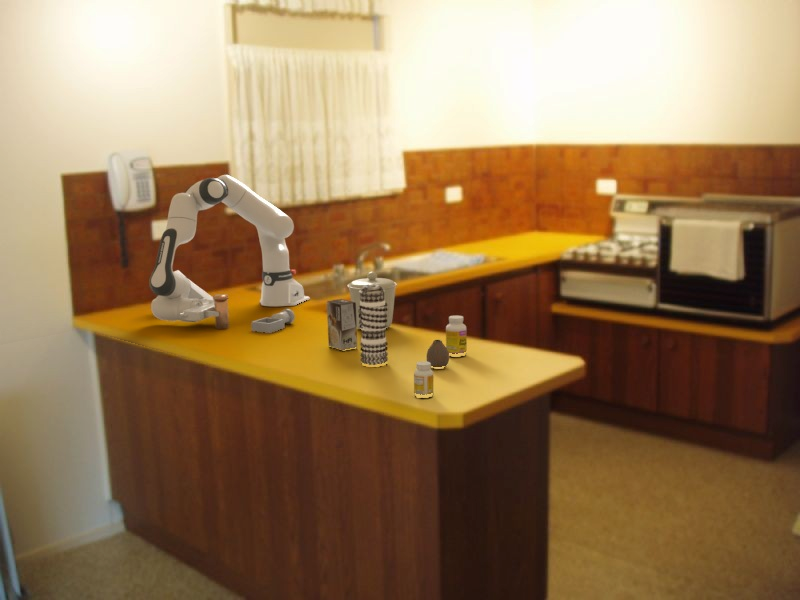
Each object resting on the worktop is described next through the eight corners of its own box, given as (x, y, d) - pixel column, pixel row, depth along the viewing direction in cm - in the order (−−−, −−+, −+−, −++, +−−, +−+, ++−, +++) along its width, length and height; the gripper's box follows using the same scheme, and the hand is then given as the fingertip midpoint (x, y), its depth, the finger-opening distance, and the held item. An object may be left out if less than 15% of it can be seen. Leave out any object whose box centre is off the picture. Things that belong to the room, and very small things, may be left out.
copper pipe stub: (221, 325, 355) (219, 293, 353) (233, 326, 352) (231, 295, 350) (211, 328, 350) (209, 296, 348) (222, 329, 348) (221, 297, 345)
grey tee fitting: (280, 322, 359) (279, 307, 358) (298, 324, 355) (297, 309, 353) (251, 331, 345) (250, 316, 344) (270, 333, 340) (269, 318, 339)
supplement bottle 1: (416, 400, 256) (415, 366, 255) (412, 394, 262) (411, 361, 260) (435, 398, 257) (435, 364, 255) (431, 393, 262) (430, 360, 261)
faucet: (210, 301, 377) (172, 270, 378) (188, 331, 382) (150, 300, 382) (216, 298, 383) (178, 268, 384) (194, 328, 388) (157, 297, 388)
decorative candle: (391, 366, 291) (389, 287, 286) (362, 369, 289) (360, 289, 284) (386, 359, 300) (384, 282, 295) (357, 361, 298) (355, 284, 293)
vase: (425, 365, 292) (425, 338, 290) (447, 364, 292) (447, 337, 290) (428, 371, 285) (427, 343, 283) (450, 370, 285) (450, 342, 284)
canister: (404, 324, 350) (403, 268, 346) (388, 335, 334) (386, 276, 329) (359, 322, 356) (357, 267, 352) (341, 332, 339) (339, 275, 335)
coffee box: (358, 349, 314) (357, 302, 311) (342, 352, 311) (341, 304, 308) (343, 344, 322) (341, 298, 319) (327, 347, 318) (325, 300, 315)
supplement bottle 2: (460, 359, 298) (460, 319, 296) (442, 356, 302) (441, 317, 299) (470, 354, 304) (470, 315, 302) (452, 352, 307) (452, 314, 305)
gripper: (175, 307, 344) (208, 309, 340) (204, 297, 363) (236, 298, 359) (176, 324, 345) (209, 326, 341) (205, 313, 364) (237, 314, 360)
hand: (223, 312), depth 350 cm, fingers closed on copper pipe stub, 5 cm apart
